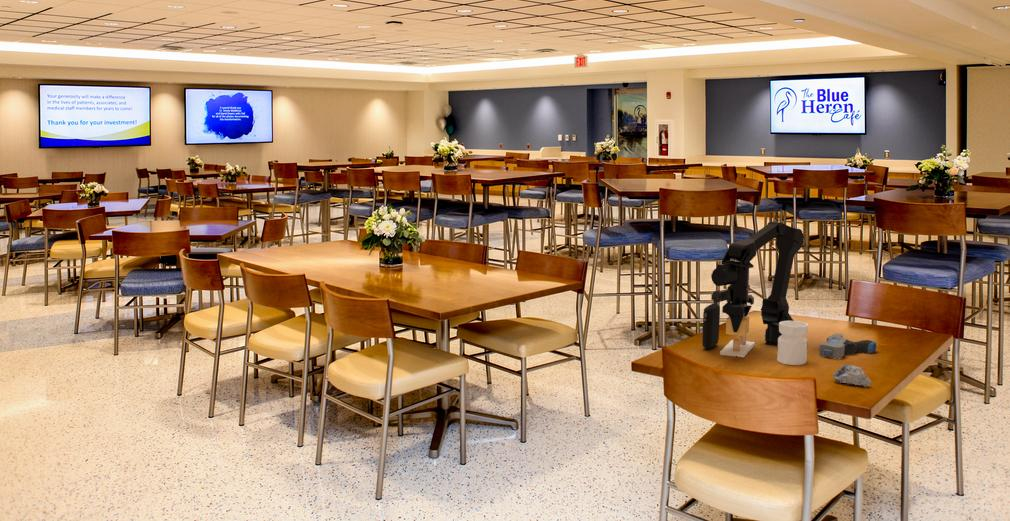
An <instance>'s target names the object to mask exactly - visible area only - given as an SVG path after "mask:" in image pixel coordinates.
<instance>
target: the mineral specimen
mask: <svg viewBox="0 0 1010 521" xmlns="http://www.w3.org/2000/svg"><path fill="white" fill-rule="evenodd" d="M833 378H834V379H835V382H836V383H837V382H840V383H847V384H846V385H853V384H854V386H856V385H859V386H862V385H863V386H868V387H870V386H871V385H872V381H871V379H870V377H868V376H867V374H866V373H865V372H864V370H863V369H862V367H861V366H857V365H855V364H851V365H849V364H846V363H845V364H842V365H841V366H840V368H839V369H836V370H834V373H833ZM840 383H839V384H840ZM863 386H862V387H863Z"/></svg>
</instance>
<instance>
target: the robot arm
mask: <svg viewBox="0 0 1010 521" xmlns="http://www.w3.org/2000/svg"><path fill="white" fill-rule="evenodd" d="M774 239H776V240H775V246H776V248H777V251H778V256H777V261H776V266H775V272H774V276H773V281H772V285H771V286H772V287H771V290H770V291H771V292H770V294H769V295H768V297H767V298H763V299H762V304H761V307H760V312H761V313H760V315H761V319H762V324H763V325H767V327H766V329H765V333H764V334H765V335H764V336H765V337H764V338H765V339H764V341H765V345H770V346H773V345H774V346H778V338H779V337H780V336H781V335H782V334H781V333H780V332H779V322H781V321H795V320H794V319H793V318H792V316H791V314H790V313H789V310H790V306H789V303H788V300H787V293H788V289H789V284H790V278H791V273H792V269H793V264H794V259H795V256H796V254H797V253H798V252H799V251H800V250H801V248H802V245H803V243H804V239H805V234H804V232H803V230H802V229H800V228H798V227H797V228H795V227H792V226H790V225H787V224H786V223H783V222H781V221H773V220H772V221H769V222H768V223H767V224H766V225H765V226H763V227H762V228H761V229H759V230H758V231H756V232H755V233H753V234H752V235H751V236H749V237H748V238H745V239H739V240H737V241H734V242H732V243H731V244H729V246H728V249H727V250H726V252H725V254H724V255H723V258H722V260H721V262H720V263H718V264H716V268H714V270H713V271H712V273H711V282H712V283H713V284H714V285H715V286H717V287H724V286H727V288H726V289H723V290H722V289H721V290H719V289H718V290H714V291H713V292H712V294H710V296H711V297H710V299H711V301H713V303H714V304H716V303H717V304H719V303H721V302H724V301H726V303H725V304H724V305H723V306H722V308H721V311H722V313H723V314H726V315H727V316H728V317H730V319H731V323H732V328H733V332H737V331H738V329H739V327H740V324H741V322H742V319H743V317H744V316H746V317H748V316H749V313H750V311H751V310H752V305H754V303H755V297H754V296H753V295H752V294H749V289H750V288H751V285H750V284H749V283H750V282H749V281H750V269H753V268H754V266H755V265H754V264H753V263H751V261H752V260H753V259H754V258H755V257H756V256H757V252H758V251H759V249H761V248H763V247H765V245H767V244H768V243H769V242H771V241H773V240H774ZM749 304H750V305H749Z"/></svg>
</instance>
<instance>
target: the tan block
mask: <svg viewBox="0 0 1010 521" xmlns="http://www.w3.org/2000/svg"><path fill="white" fill-rule="evenodd" d="M725 325H726V326H725V334H726V335H731V336H732V335H733V336H745V335H746V336H747V335H748V333H749V331H750V316H747V317H746V316H744V317H743V319H742V322H741V324H740V327H739V329H738V331H737V332H733V328H732V323H731V319H730V317H729V316H728V317H727V318H726V321H725Z"/></svg>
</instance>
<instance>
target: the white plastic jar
mask: <svg viewBox="0 0 1010 521" xmlns="http://www.w3.org/2000/svg"><path fill="white" fill-rule="evenodd" d="M779 332H780V333H781V334H782V335H781V336H780V337H779V338H778V345H777V356H776V361H777V362H779V363H781V364H784V365H787V366H789V365H790V366H791V365H792V366H802V365H804V364H806V363H807V357H808V356H807V355H808V339H807V337H805V336H806V335H807V334H809V324H808V323H806V322H803V321H798V320H794V321H781V322H779Z"/></svg>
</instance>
